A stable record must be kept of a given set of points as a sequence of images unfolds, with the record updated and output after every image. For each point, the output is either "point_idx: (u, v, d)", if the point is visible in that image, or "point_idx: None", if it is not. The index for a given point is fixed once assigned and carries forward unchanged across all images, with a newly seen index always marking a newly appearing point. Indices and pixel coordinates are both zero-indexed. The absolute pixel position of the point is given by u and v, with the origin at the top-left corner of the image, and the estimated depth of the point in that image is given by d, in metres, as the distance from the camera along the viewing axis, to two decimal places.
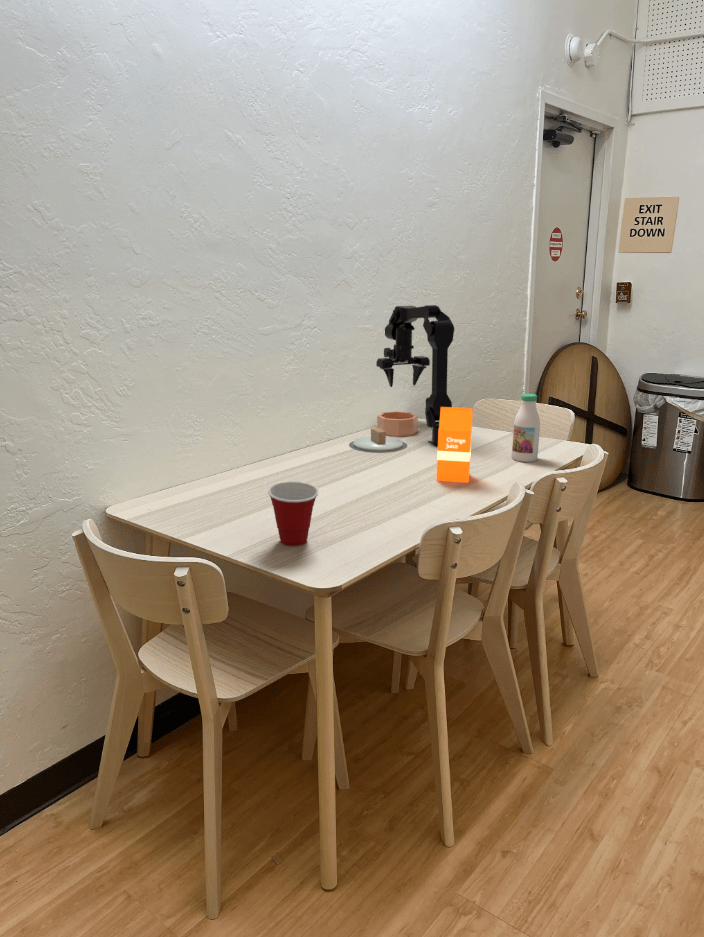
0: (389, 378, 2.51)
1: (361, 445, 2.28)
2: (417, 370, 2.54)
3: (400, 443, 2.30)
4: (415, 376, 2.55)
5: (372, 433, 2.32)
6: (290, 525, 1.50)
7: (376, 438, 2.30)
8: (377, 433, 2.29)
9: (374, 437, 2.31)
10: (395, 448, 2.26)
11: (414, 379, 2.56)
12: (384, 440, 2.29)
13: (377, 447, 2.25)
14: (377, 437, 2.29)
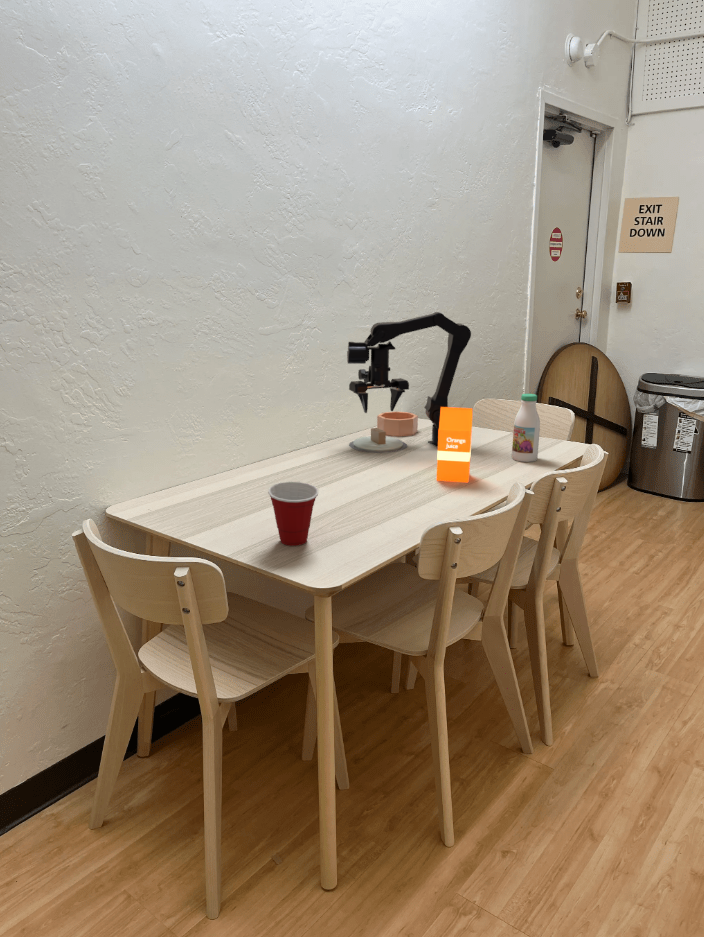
0: (363, 403, 2.26)
1: (361, 445, 2.28)
2: (395, 394, 2.29)
3: (400, 443, 2.30)
4: (393, 401, 2.30)
5: (372, 433, 2.32)
6: (290, 525, 1.50)
7: (376, 438, 2.30)
8: (377, 433, 2.29)
9: (374, 437, 2.31)
10: (395, 448, 2.26)
11: (392, 404, 2.30)
12: (384, 440, 2.29)
13: (377, 447, 2.25)
14: (377, 437, 2.29)
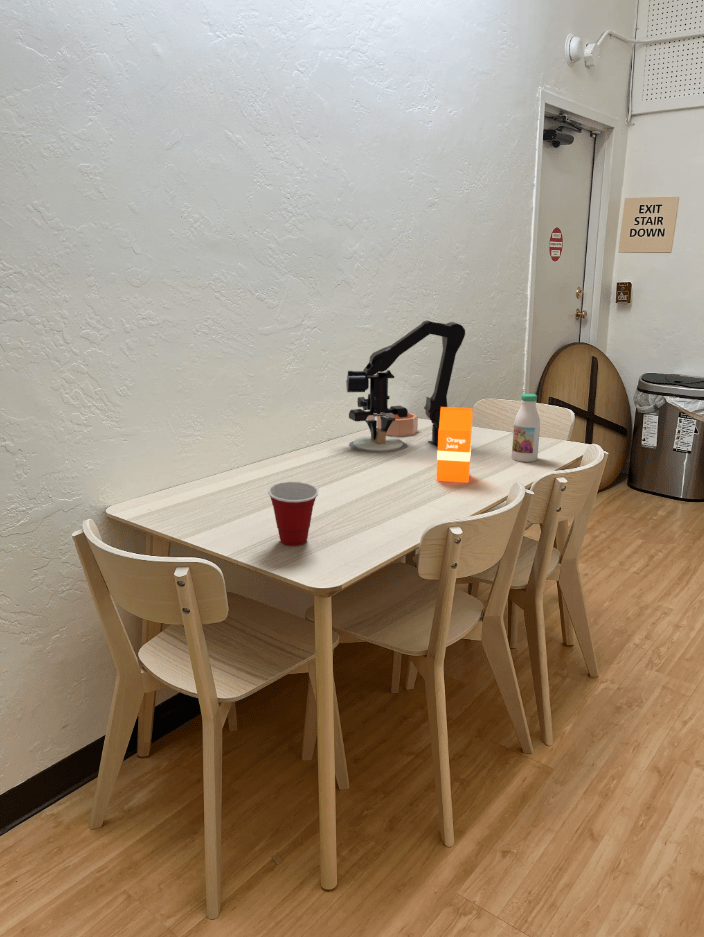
0: (372, 430, 2.29)
1: (361, 445, 2.28)
2: (385, 423, 2.29)
3: (400, 443, 2.30)
4: (383, 429, 2.31)
5: None
6: (290, 525, 1.50)
7: (376, 438, 2.30)
8: (377, 433, 2.29)
9: None
10: (395, 448, 2.26)
11: None
12: (384, 440, 2.29)
13: (377, 447, 2.25)
14: (377, 437, 2.29)
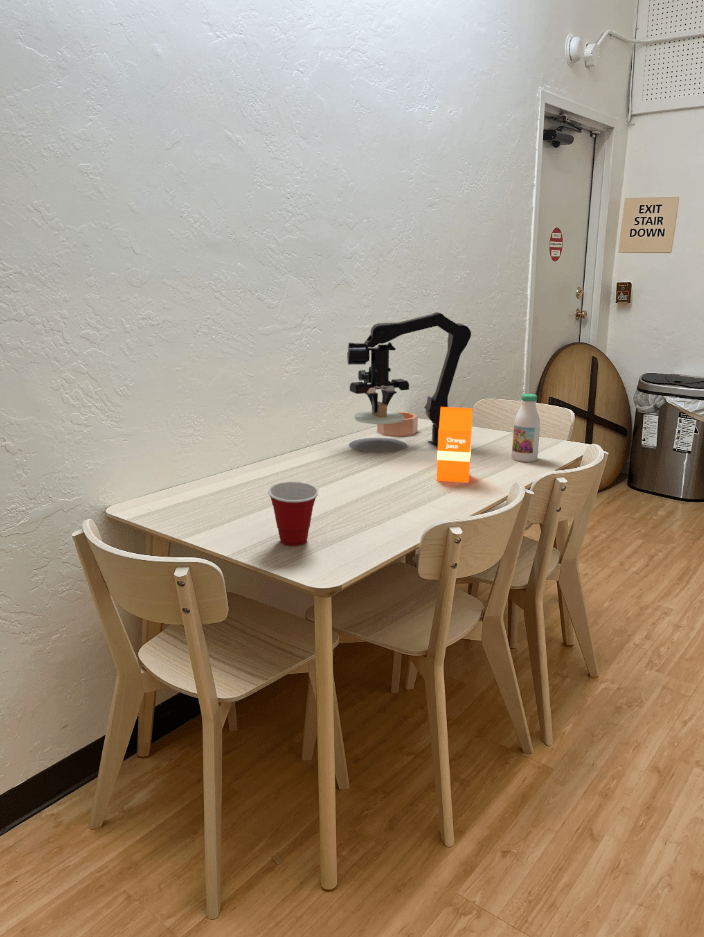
0: (373, 403, 2.27)
1: (362, 418, 2.26)
2: (386, 396, 2.27)
3: (401, 416, 2.28)
4: (384, 402, 2.29)
5: None
6: (290, 525, 1.50)
7: (377, 412, 2.28)
8: (378, 406, 2.27)
9: None
10: (396, 421, 2.24)
11: None
12: (385, 413, 2.27)
13: (378, 420, 2.23)
14: (379, 410, 2.27)
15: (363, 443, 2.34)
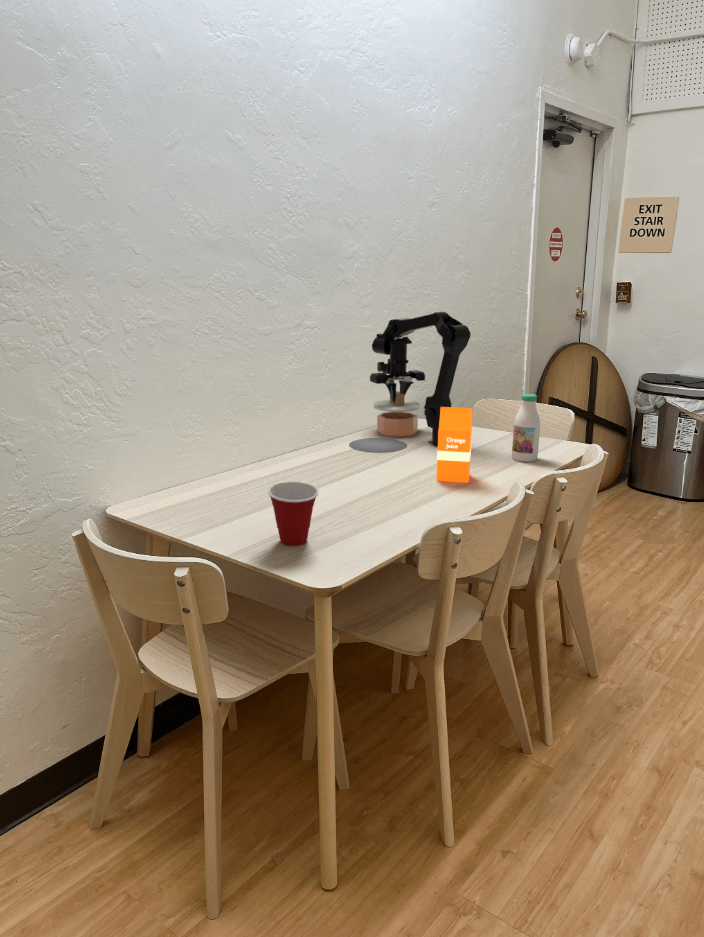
0: (391, 393, 2.43)
1: (381, 406, 2.42)
2: (404, 386, 2.44)
3: (418, 405, 2.45)
4: (402, 392, 2.45)
5: None
6: (290, 525, 1.50)
7: (395, 401, 2.45)
8: (396, 395, 2.43)
9: None
10: (413, 409, 2.41)
11: None
12: (403, 402, 2.44)
13: (397, 408, 2.40)
14: (397, 399, 2.43)
15: (363, 443, 2.34)
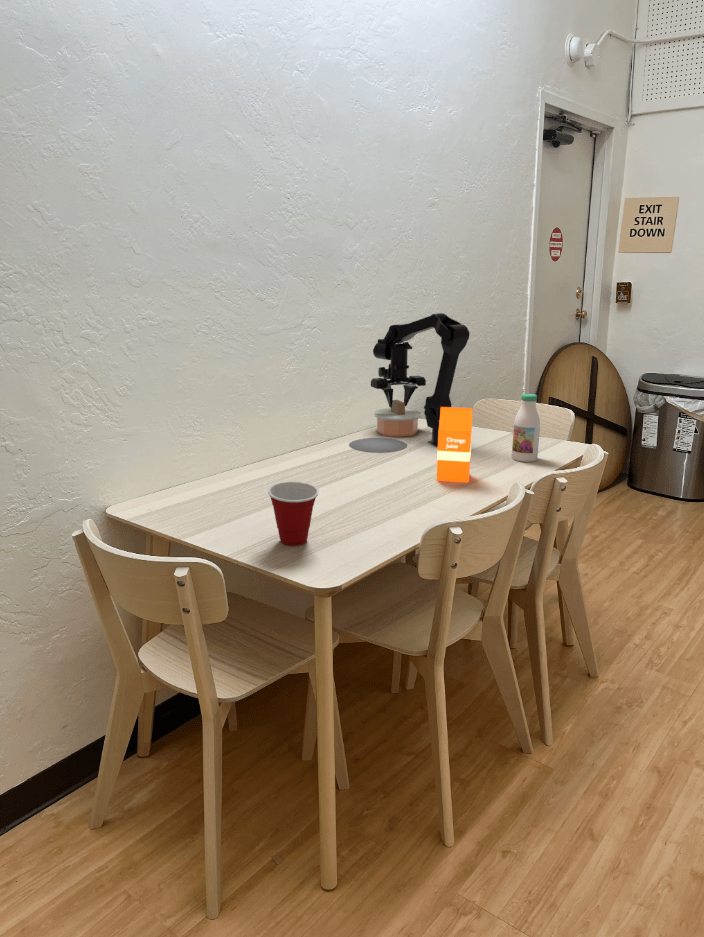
0: (388, 398, 2.44)
1: (382, 415, 2.44)
2: (408, 391, 2.45)
3: (418, 414, 2.46)
4: (406, 397, 2.47)
5: (392, 404, 2.48)
6: (290, 525, 1.50)
7: (396, 409, 2.46)
8: (397, 404, 2.45)
9: (394, 409, 2.47)
10: (414, 418, 2.42)
11: (405, 400, 2.47)
12: (403, 411, 2.45)
13: (397, 417, 2.41)
14: (397, 408, 2.45)
15: (363, 443, 2.34)
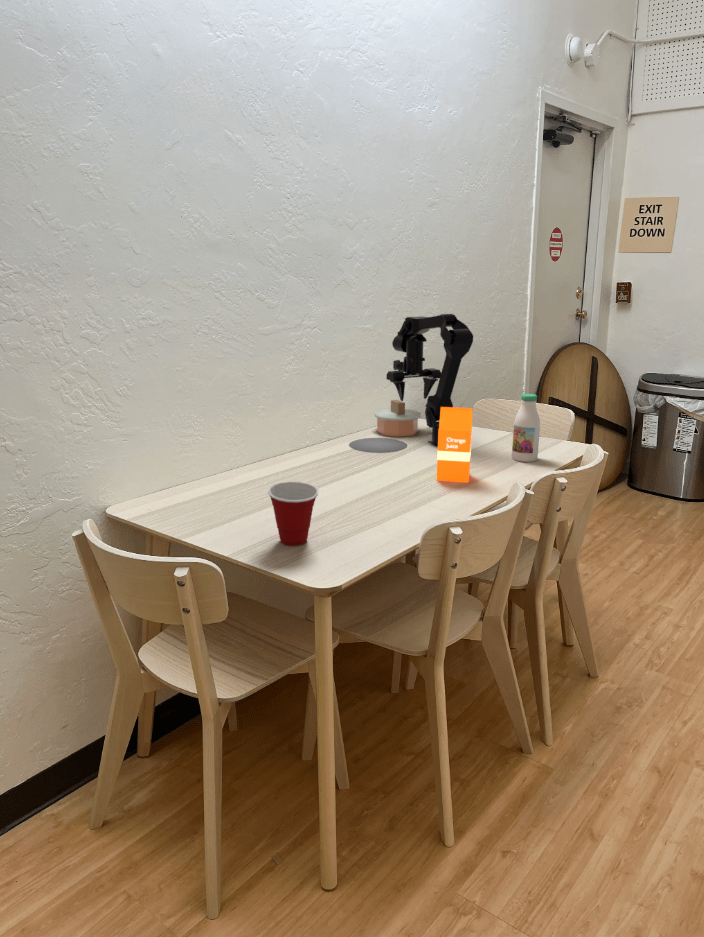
0: (400, 392, 2.42)
1: (382, 415, 2.44)
2: (428, 383, 2.45)
3: (418, 414, 2.46)
4: (426, 389, 2.46)
5: (392, 404, 2.48)
6: (290, 525, 1.50)
7: (396, 409, 2.46)
8: (397, 404, 2.45)
9: (394, 409, 2.47)
10: (414, 418, 2.42)
11: (425, 392, 2.47)
12: (403, 411, 2.45)
13: (397, 417, 2.41)
14: (397, 408, 2.45)
15: (363, 443, 2.34)
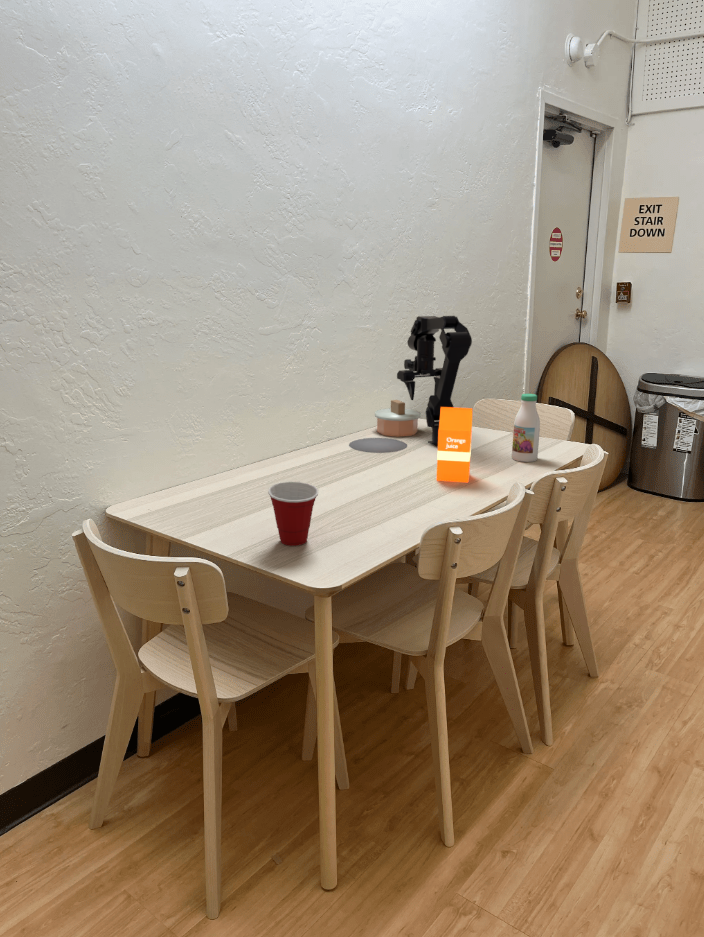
0: (410, 391, 2.42)
1: (382, 415, 2.44)
2: (439, 382, 2.45)
3: (418, 414, 2.46)
4: (437, 389, 2.46)
5: (392, 404, 2.48)
6: (290, 525, 1.50)
7: (396, 409, 2.46)
8: (397, 404, 2.45)
9: (394, 409, 2.47)
10: (414, 418, 2.42)
11: (436, 392, 2.47)
12: (403, 411, 2.45)
13: (397, 417, 2.41)
14: (397, 408, 2.45)
15: (363, 443, 2.34)
